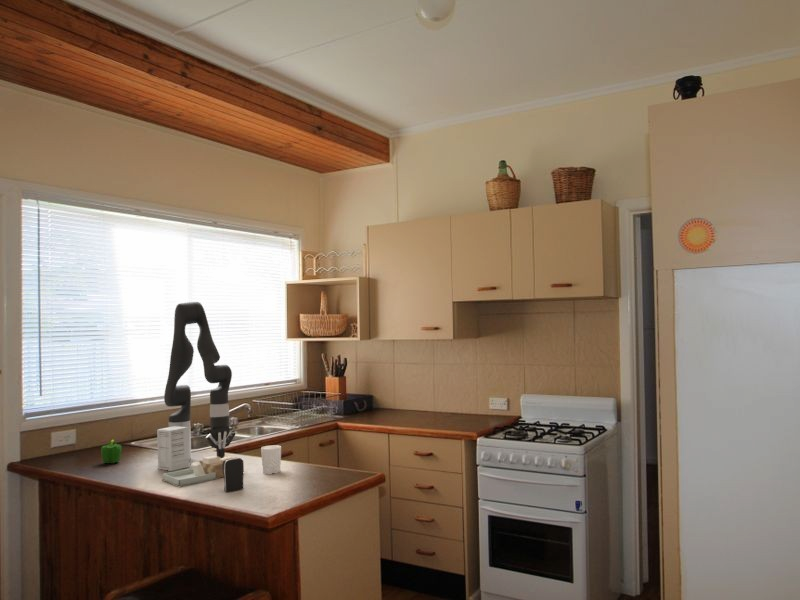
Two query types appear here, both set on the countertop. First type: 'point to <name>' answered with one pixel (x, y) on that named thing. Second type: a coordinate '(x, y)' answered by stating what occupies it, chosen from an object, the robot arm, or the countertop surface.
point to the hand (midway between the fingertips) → (220, 457)
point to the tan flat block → (215, 467)
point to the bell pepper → (111, 452)
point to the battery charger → (233, 474)
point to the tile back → (211, 459)
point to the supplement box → (173, 448)
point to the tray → (186, 477)
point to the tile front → (197, 469)
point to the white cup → (271, 458)
